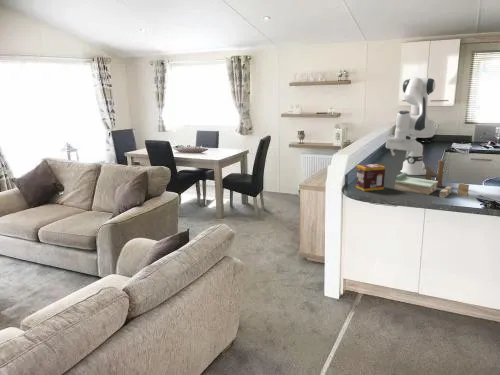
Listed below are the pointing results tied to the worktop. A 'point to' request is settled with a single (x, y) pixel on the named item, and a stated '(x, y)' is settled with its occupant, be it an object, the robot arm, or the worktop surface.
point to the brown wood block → (463, 189)
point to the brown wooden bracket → (431, 173)
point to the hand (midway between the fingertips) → (399, 156)
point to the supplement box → (370, 177)
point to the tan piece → (423, 189)
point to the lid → (414, 181)
